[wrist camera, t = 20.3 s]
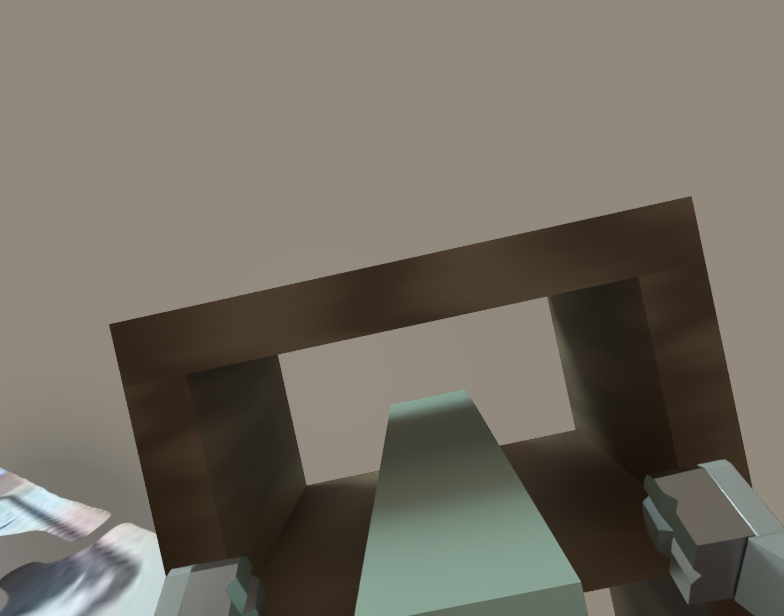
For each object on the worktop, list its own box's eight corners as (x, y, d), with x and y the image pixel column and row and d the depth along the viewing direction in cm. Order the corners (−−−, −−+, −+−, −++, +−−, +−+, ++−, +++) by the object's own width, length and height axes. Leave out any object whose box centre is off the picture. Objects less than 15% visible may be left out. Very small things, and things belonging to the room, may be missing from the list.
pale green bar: (477, 444, 28) (465, 389, 28) (617, 751, 9) (581, 581, 9) (402, 460, 28) (390, 404, 28) (389, 793, 9) (352, 626, 9)
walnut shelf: (682, 738, 27) (575, 237, 27) (867, 1036, 16) (691, 196, 16) (337, 801, 28) (228, 313, 28) (290, 1131, 17) (109, 324, 17)
